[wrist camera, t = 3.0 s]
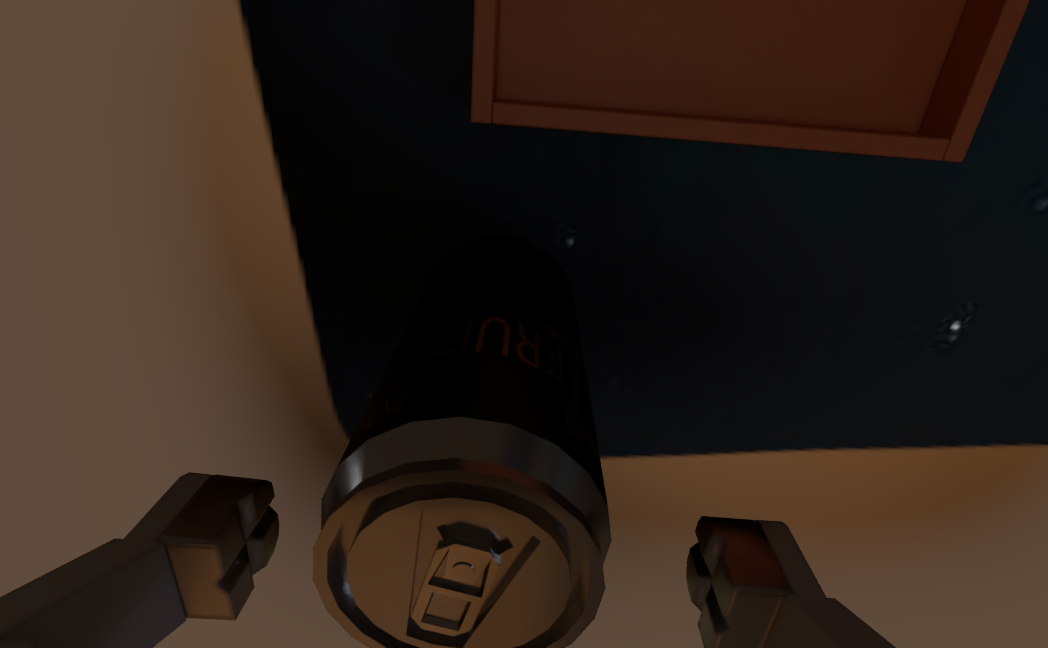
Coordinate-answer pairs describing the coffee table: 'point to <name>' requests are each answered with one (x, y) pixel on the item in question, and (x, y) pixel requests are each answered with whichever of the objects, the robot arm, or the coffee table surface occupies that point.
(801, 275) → the coffee table surface
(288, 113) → the coffee table surface
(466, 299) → the beer can
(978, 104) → the terracotta tray
